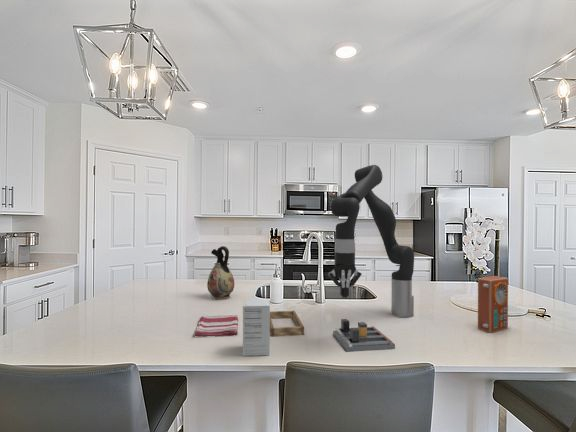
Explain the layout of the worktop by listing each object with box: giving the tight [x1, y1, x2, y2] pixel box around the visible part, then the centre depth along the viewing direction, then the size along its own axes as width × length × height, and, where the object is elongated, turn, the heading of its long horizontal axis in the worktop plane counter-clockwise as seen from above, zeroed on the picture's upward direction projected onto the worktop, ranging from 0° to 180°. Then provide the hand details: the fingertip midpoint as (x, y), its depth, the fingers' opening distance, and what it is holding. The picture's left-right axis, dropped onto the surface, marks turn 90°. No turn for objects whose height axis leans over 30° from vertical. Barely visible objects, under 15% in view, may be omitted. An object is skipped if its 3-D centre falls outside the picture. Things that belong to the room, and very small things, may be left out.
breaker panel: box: [332, 318, 396, 352], centre depth 123 cm, size 18×16×6 cm
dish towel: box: [193, 314, 239, 337], centre depth 138 cm, size 17×23×3 cm
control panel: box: [477, 275, 509, 334], centre depth 137 cm, size 21×7×15 cm
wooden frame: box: [270, 310, 305, 337], centre depth 139 cm, size 13×23×3 cm, turn 8°
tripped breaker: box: [357, 321, 368, 336], centre depth 123 cm, size 2×3×5 cm
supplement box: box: [242, 298, 271, 357], centre depth 114 cm, size 10×9×17 cm
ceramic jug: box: [206, 245, 235, 300], centre depth 187 cm, size 17×15×30 cm
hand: (344, 297), depth 122 cm, fingers closed
